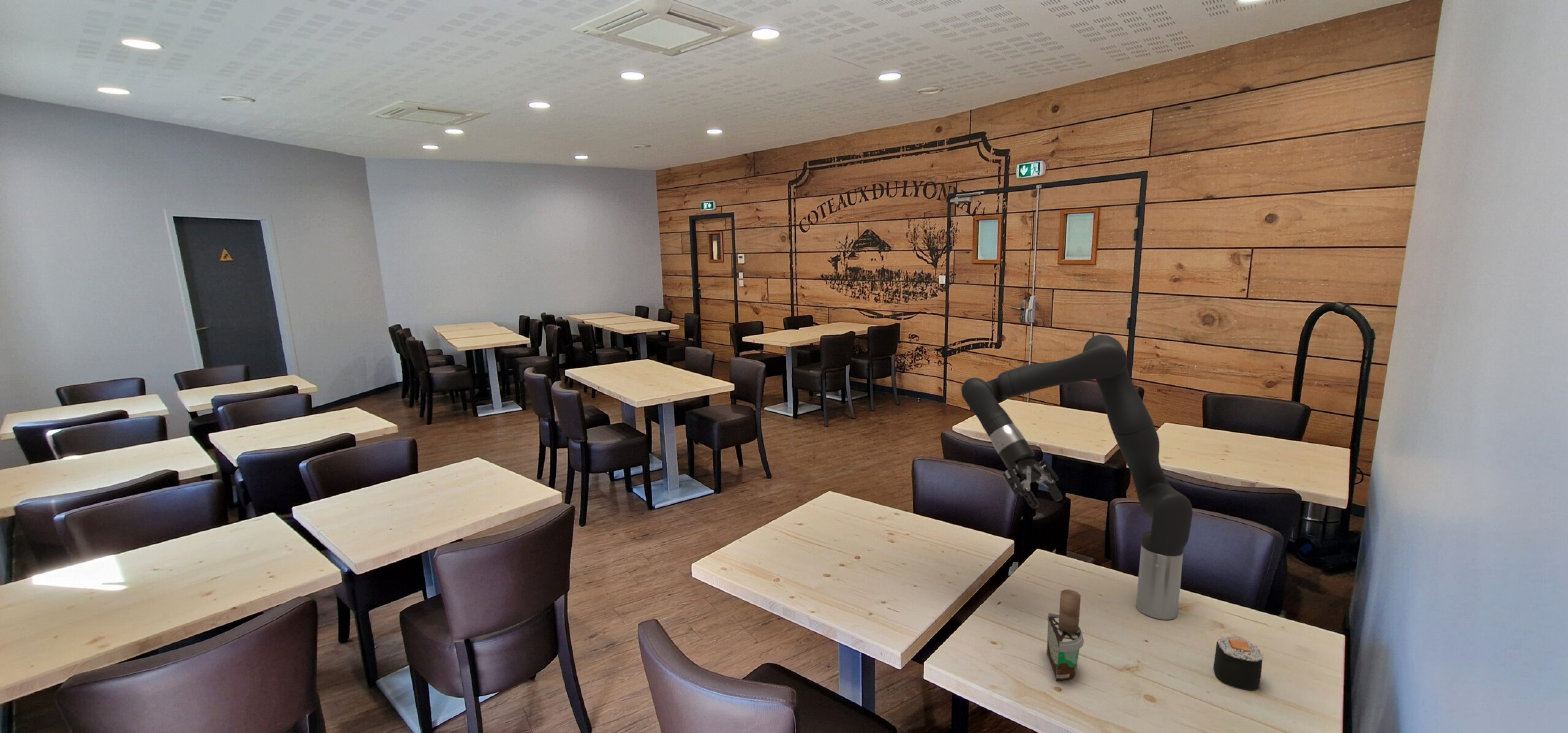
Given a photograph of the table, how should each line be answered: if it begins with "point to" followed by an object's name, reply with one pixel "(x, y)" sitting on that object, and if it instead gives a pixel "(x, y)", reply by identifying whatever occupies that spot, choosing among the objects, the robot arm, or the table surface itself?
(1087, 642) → the table surface
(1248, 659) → the sushi
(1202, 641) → the table surface
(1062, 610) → the walnut cylinder
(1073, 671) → the food container
